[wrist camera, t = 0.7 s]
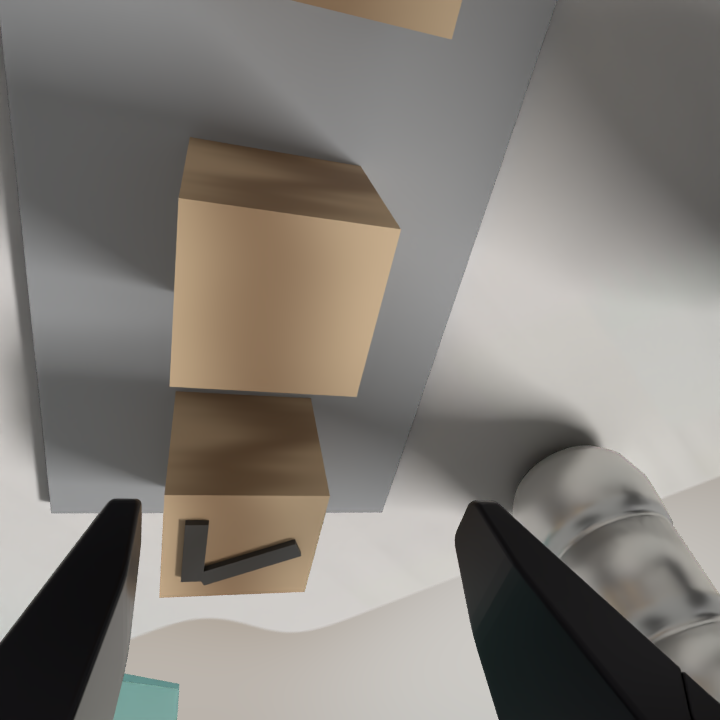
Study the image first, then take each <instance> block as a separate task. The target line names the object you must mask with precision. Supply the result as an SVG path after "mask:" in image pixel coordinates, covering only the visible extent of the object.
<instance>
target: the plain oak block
mask: <svg viewBox="0 0 720 720" xmlns="http://www.w3.org/2000/svg"><path fill="white" fill-rule="evenodd" d="M400 232H401V229H400V227H399V225H398V224H397V222H396V221H395V219H394V218H393V216H392V214H391V213H390V211H389V210H388V208H387V207H386V205H385V203H384V202H383V200H382V199H381V197H380V196H379V194H378V193H377V191H376V189H375V188H374V186H373V185H372V183H371V182H370V180H369V178H368V177H367V175H366V174H365V172H364V171H363V169H362V167H361V166H357V165H351V164H345V163H339V162H334V161H328V160H322V159H316V158H310V157H304V156H298V155H292V154H287V153H281V152H275V151H269V150H263V149H257V148H251V147H245V146H240V145H234V144H228V143H222V142H216V141H210V140H204V139H198V138H193V137H190V138H189V144H188V149H187V155H186V160H185V166H184V171H183V177H182V182H181V188H180V193H179V200H178V221H177V241H176V262H175V283H174V304H173V325H172V346H171V367H170V387H184V388H203V389H221V390H239V391H257V392H275V393H294V394H312V395H330V396H348V397H357V393H358V389H359V385H360V382H361V378H362V374H363V370H364V367H365V363H366V359H367V355H368V352H369V348H370V344H371V340H372V337H373V333H374V329H375V325H376V322H377V318H378V314H379V310H380V307H381V303H382V299H383V295H384V292H385V288H386V284H387V280H388V277H389V273H390V269H391V265H392V262H393V258H394V254H395V250H396V247H397V243H398V239H399V235H400Z"/></svg>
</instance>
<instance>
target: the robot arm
mask: <svg viewBox="0 0 720 720" xmlns="http://www.w3.org/2000/svg"><path fill="white" fill-rule="evenodd" d="M141 521H142V504H141V501H140V500H139V499H127V498H116V499H112V500H110V501H109V502H108V503H107V504H106V505H105V506H104V508H103V509H102V510H101V512H100V513H99V514H98V515H97V517H96V518H95V519H94V521H93V522H92V523H91V525H90V526H89V527H88V529H87V530H86V531H85V532H84V534H83V535H82V536H81V538H80V539H79V540H78V542H77V543H76V544H75V546H74V547H73V548H72V549H71V551H70V552H69V553H68V555H67V556H66V557H65V559H64V560H63V561H62V562H61V564H60V565H59V566H58V568H57V569H56V570H55V572H54V573H53V574H52V576H51V577H50V578H49V579H48V581H47V582H46V583H45V585H44V586H43V587H42V589H41V590H40V591H39V593H38V594H37V595H36V596H35V598H34V599H33V600H32V602H31V603H30V604H29V606H28V607H27V608H26V610H25V611H24V612H23V613H22V615H21V616H20V617H19V619H18V620H17V621H16V623H15V624H14V625H13V626H12V628H11V629H10V630H9V632H8V633H7V634H6V636H5V637H4V638H3V640H2V641H1V642H0V720H113V718H114V714H115V710H116V706H117V702H118V697H119V693H120V689H121V685H122V681H123V676H124V672H125V667H126V662H127V657H128V650H129V643H130V635H131V627H132V618H133V609H134V601H135V592H136V583H137V574H138V566H139V557H140V548H141ZM455 548H456V553H457V558H458V563H459V568H460V573H461V578H462V583H463V588H464V594H465V598H466V604H467V608H468V614H469V619H470V623H471V628H472V632H473V636H474V640H475V643H476V647H477V651H478V654H479V657H480V660H481V664H482V666H483V670H484V673H485V676H486V680H487V683H488V686H489V689H490V693H491V696H492V699H493V702H494V706H495V709H496V712H497V715H498V719H499V720H720V703H719V702H718V701H717V700H716V699H715V698H713V697H712V696H711V695H710V694H709V693H708V692H707V691H706V690H704V689H703V688H702V687H701V686H700V685H699V684H698V683H697V682H696V681H695V680H693V679H692V678H691V677H690V676H689V675H688V674H687V673H686V672H681V669H680V667H679V666H678V665H677V664H675V663H674V662H673V661H672V660H671V659H670V658H669V657H668V656H667V655H666V654H664V653H663V652H662V651H661V650H660V649H659V648H658V647H657V646H656V645H654V644H653V643H652V642H651V641H650V640H649V639H648V638H647V637H646V636H645V635H643V634H642V633H641V632H640V631H639V630H638V629H637V628H636V627H635V626H633V625H632V624H631V623H630V622H629V621H628V620H627V619H626V618H625V617H624V616H622V615H621V614H620V613H619V612H618V611H617V610H616V609H615V608H614V607H612V606H611V605H610V604H609V603H608V602H607V601H606V600H605V599H604V598H603V597H601V596H600V595H599V594H598V593H597V592H596V591H595V590H594V589H593V588H592V587H590V586H589V585H588V584H587V583H586V582H585V581H584V580H583V579H582V578H580V577H579V576H578V575H577V574H576V573H575V572H574V571H573V570H572V569H571V568H569V567H568V566H567V565H566V564H565V563H564V562H563V561H562V560H561V559H559V558H558V557H557V556H556V555H555V554H554V553H553V552H552V551H551V550H550V549H548V548H547V547H546V546H545V545H544V544H543V543H542V542H541V541H540V540H538V539H537V538H536V537H535V536H534V535H533V534H532V533H531V532H530V531H529V530H527V529H526V528H525V527H524V526H523V525H522V524H521V523H520V522H519V521H517V520H516V519H515V518H514V517H513V516H512V515H511V514H510V513H509V512H508V511H506V510H505V509H504V508H503V507H502V506H501V505H500V504H498V503H497V502H495V501H490V500H475V501H472V502H471V503H470V504H469V505H468V507H467V509H466V511H465V514H464V516H463V518H462V520H461V522H460V525H459V527H458V529H457V531H456V535H455Z"/></svg>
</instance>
